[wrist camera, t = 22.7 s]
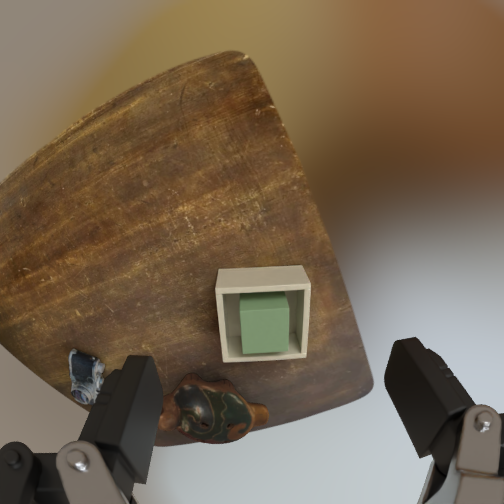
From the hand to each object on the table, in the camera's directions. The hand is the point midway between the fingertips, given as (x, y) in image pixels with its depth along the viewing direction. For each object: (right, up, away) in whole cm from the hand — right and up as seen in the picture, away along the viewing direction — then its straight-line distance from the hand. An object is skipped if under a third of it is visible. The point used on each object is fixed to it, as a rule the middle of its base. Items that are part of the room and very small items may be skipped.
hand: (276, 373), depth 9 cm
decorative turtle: (-6, -15, +28) cm, 33 cm away
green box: (0, -2, +23) cm, 23 cm away
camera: (-24, -14, +27) cm, 39 cm away
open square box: (0, -2, +24) cm, 24 cm away
